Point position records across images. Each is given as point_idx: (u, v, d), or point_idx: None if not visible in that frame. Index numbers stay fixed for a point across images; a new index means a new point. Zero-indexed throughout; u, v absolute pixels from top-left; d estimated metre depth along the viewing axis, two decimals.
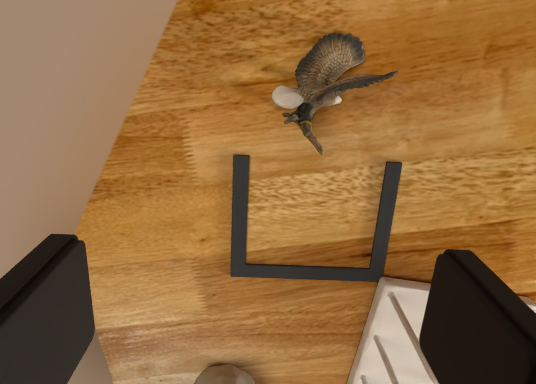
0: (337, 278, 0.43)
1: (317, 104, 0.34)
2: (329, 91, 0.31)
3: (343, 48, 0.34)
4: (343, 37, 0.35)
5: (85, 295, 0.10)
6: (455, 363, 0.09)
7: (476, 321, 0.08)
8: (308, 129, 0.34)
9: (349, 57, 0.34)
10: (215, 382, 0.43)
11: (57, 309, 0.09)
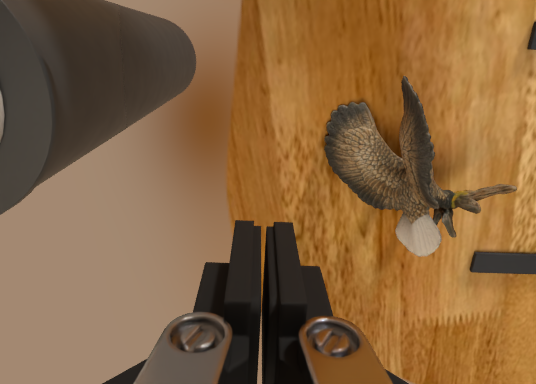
0: None
1: (433, 190, 0.23)
2: (427, 194, 0.20)
3: (349, 141, 0.24)
4: (331, 136, 0.24)
5: None
6: (264, 322, 0.10)
7: (267, 281, 0.09)
8: (471, 208, 0.22)
9: (362, 131, 0.24)
10: None
11: None
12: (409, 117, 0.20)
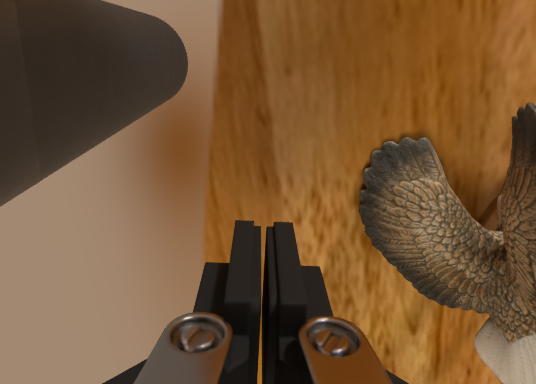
0: None
1: None
2: None
3: (402, 202, 0.14)
4: (371, 191, 0.15)
5: None
6: (263, 322, 0.10)
7: (266, 281, 0.09)
8: None
9: (425, 186, 0.14)
10: None
11: None
12: None
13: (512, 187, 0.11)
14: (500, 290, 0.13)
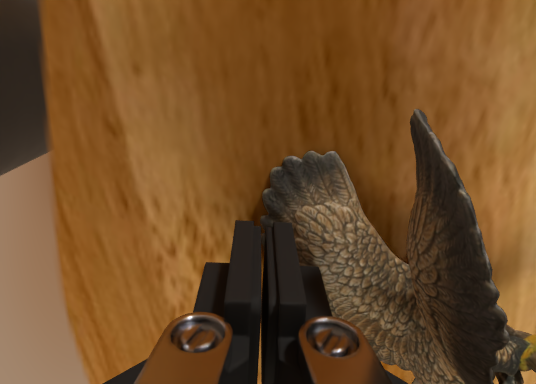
0: None
1: None
2: None
3: (304, 232, 0.12)
4: (272, 217, 0.12)
5: None
6: (263, 322, 0.10)
7: (266, 281, 0.09)
8: None
9: (331, 212, 0.11)
10: None
11: None
12: (432, 217, 0.07)
13: (412, 222, 0.08)
14: (421, 347, 0.11)
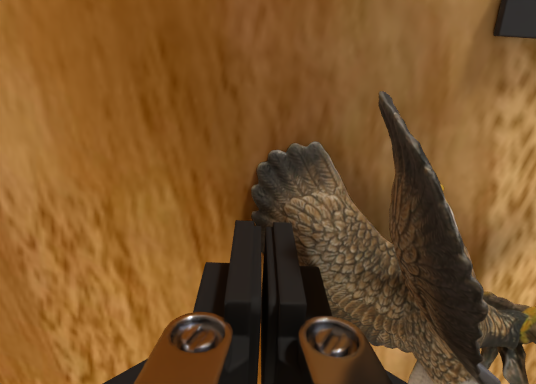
0: None
1: (479, 323, 0.10)
2: (473, 376, 0.08)
3: (294, 225, 0.12)
4: (263, 212, 0.12)
5: None
6: (263, 322, 0.10)
7: (266, 281, 0.09)
8: None
9: (319, 202, 0.11)
10: None
11: None
12: (407, 196, 0.08)
13: (392, 204, 0.09)
14: (417, 328, 0.11)
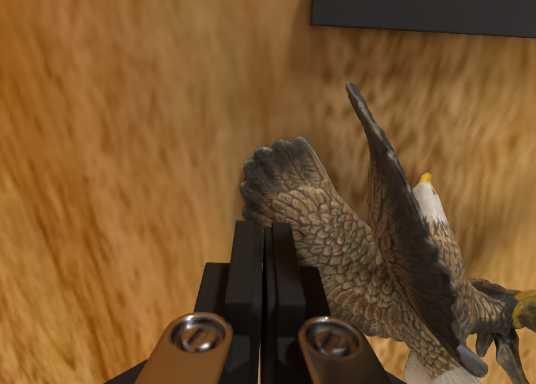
0: None
1: (468, 309, 0.10)
2: (455, 360, 0.08)
3: (282, 219, 0.12)
4: (252, 208, 0.13)
5: None
6: (262, 322, 0.10)
7: (265, 281, 0.09)
8: None
9: (305, 196, 0.12)
10: None
11: None
12: (378, 184, 0.08)
13: (369, 193, 0.09)
14: (407, 316, 0.11)
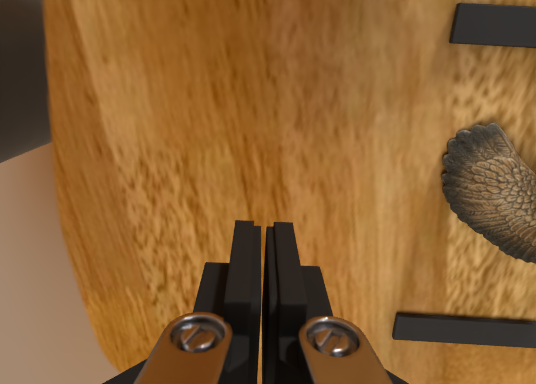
0: None
1: None
2: None
3: (481, 179, 0.17)
4: (452, 173, 0.18)
5: None
6: (264, 322, 0.10)
7: (267, 281, 0.09)
8: None
9: (500, 163, 0.17)
10: None
11: None
12: None
13: None
14: None
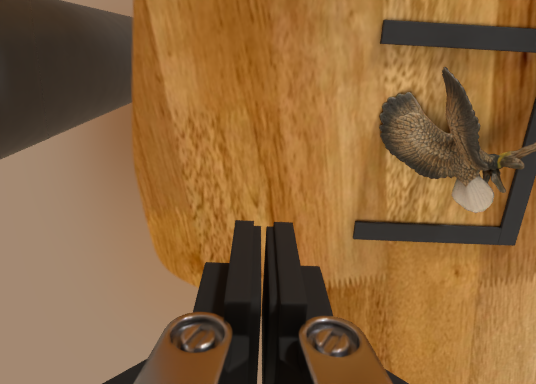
0: None
1: (480, 155, 0.27)
2: (477, 159, 0.25)
3: (401, 126, 0.28)
4: (385, 124, 0.29)
5: None
6: (263, 322, 0.10)
7: (267, 281, 0.09)
8: (516, 165, 0.26)
9: (412, 116, 0.28)
10: None
11: None
12: (453, 99, 0.24)
13: (447, 105, 0.25)
14: (456, 160, 0.27)
